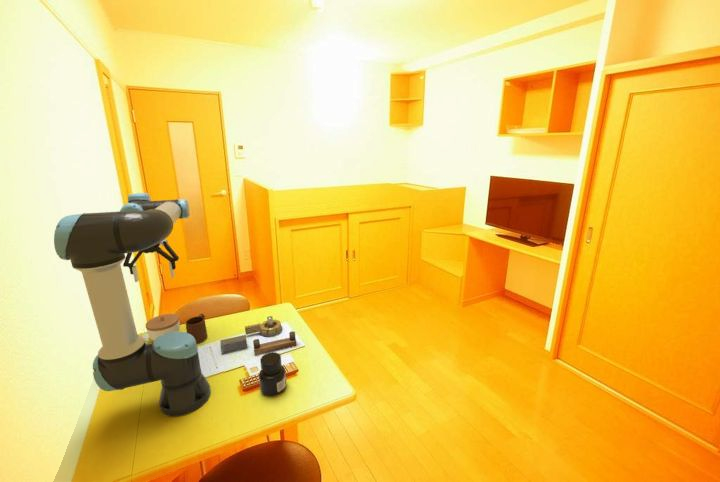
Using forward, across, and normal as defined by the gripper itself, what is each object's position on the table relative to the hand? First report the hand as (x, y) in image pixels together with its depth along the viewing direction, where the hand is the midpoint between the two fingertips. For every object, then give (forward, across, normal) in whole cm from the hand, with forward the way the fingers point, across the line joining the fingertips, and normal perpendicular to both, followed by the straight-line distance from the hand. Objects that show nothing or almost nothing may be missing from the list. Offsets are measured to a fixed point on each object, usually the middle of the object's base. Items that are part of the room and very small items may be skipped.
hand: (155, 278), depth 140 cm
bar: (+28, -29, +23) cm, 46 cm away
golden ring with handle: (+26, -42, +15) cm, 51 cm away
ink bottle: (+28, -42, +52) cm, 73 cm away
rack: (+27, -46, +29) cm, 60 cm away
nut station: (+27, -45, +14) cm, 55 cm away
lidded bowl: (+28, -1, +4) cm, 28 cm away
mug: (+28, -15, +8) cm, 32 cm away
